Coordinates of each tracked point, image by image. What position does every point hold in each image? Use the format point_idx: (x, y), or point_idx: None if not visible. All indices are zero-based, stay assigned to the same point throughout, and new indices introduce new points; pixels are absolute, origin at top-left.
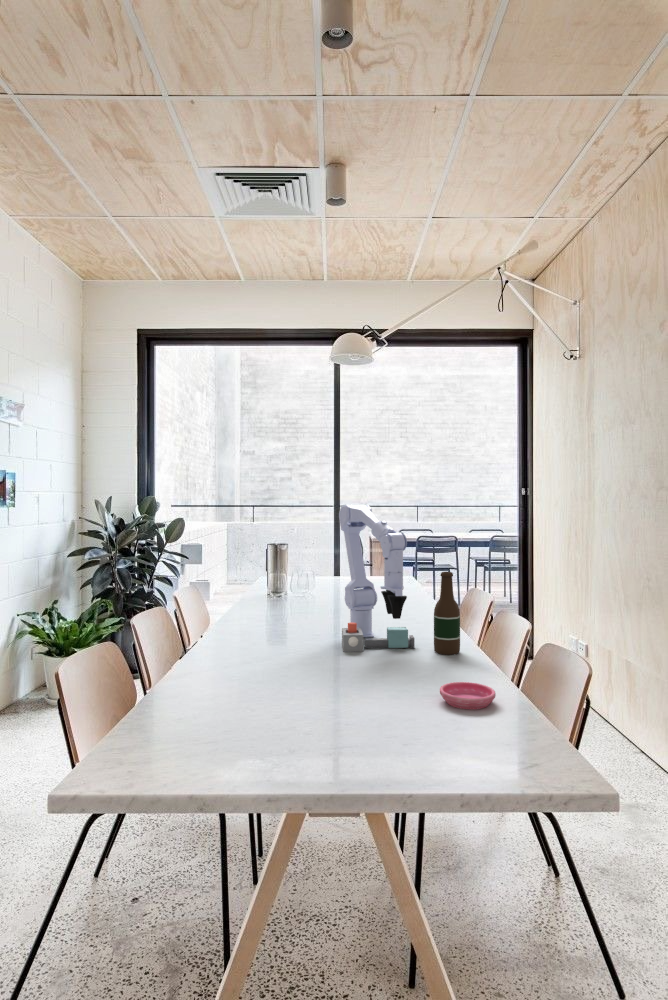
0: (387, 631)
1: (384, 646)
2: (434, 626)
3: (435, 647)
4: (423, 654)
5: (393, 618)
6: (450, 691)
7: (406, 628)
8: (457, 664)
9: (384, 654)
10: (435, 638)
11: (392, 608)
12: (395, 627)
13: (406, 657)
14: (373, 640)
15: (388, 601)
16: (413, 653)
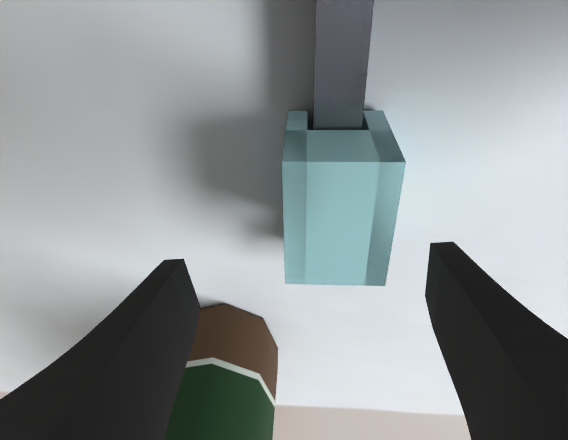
0: (358, 150)
1: (314, 87)
2: (193, 412)
3: (208, 321)
4: (175, 258)
5: (166, 260)
6: None
7: (335, 282)
8: (43, 332)
9: (144, 66)
10: (197, 356)
11: (83, 338)
12: (383, 223)
13: (101, 180)
14: (318, 7)
15: (489, 373)
16: (189, 222)
